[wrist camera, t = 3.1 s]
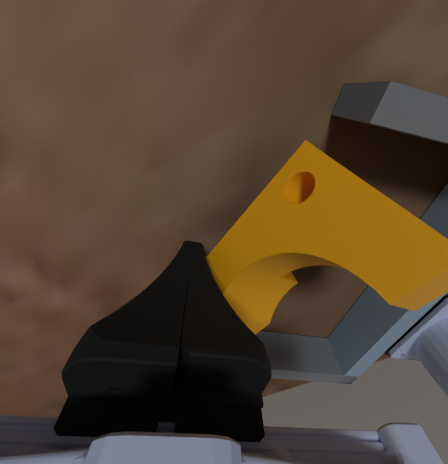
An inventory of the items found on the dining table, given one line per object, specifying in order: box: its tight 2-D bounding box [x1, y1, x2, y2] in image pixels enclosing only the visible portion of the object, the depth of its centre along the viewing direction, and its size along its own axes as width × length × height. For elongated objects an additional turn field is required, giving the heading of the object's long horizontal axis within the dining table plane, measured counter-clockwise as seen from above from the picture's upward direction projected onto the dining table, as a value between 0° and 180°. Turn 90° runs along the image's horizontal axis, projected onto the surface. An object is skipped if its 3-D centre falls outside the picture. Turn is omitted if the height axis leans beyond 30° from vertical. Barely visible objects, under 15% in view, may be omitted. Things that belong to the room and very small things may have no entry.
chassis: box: [256, 81, 448, 384], centre depth 14 cm, size 9×18×3 cm, turn 168°
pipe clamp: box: [206, 140, 448, 335], centre depth 11 cm, size 12×4×6 cm, turn 144°
